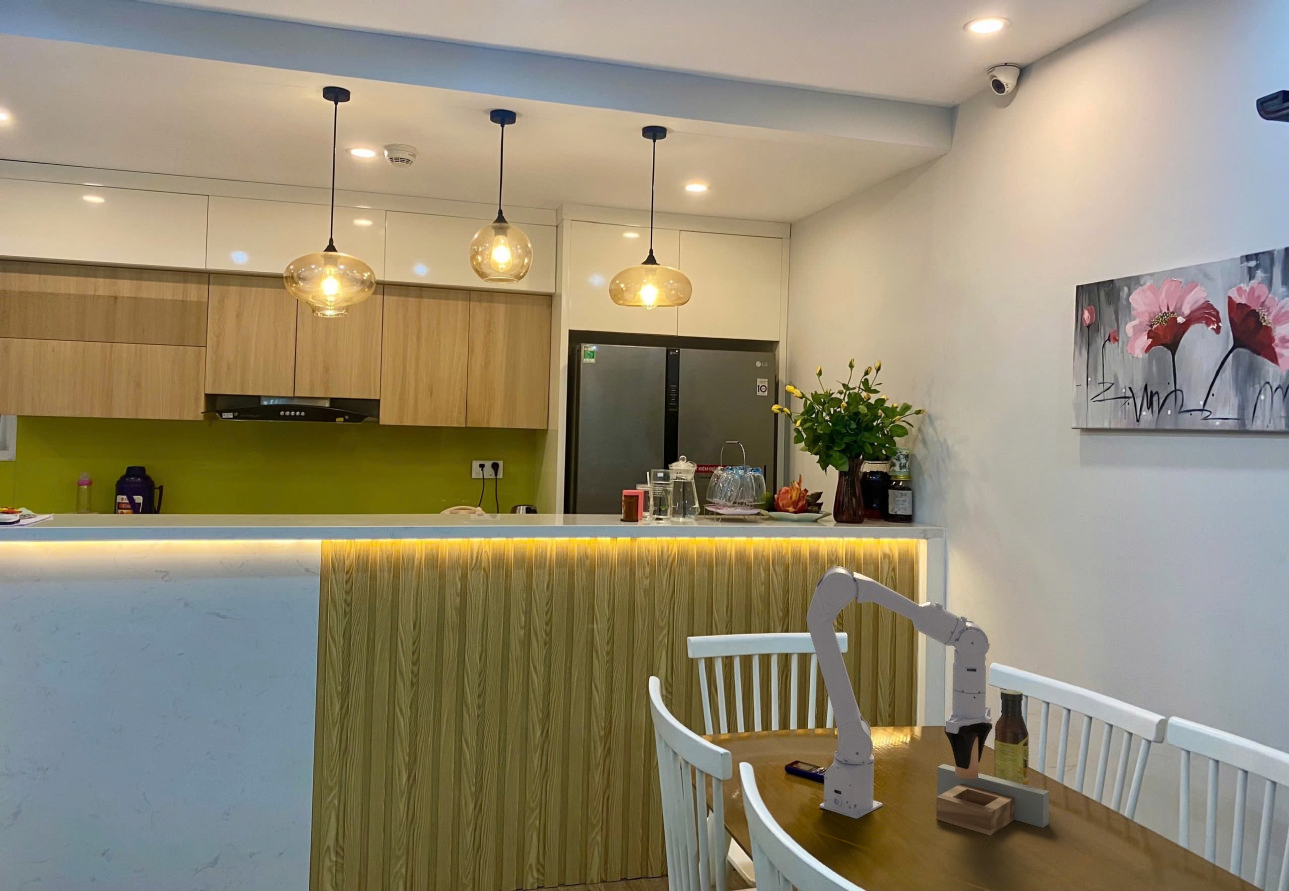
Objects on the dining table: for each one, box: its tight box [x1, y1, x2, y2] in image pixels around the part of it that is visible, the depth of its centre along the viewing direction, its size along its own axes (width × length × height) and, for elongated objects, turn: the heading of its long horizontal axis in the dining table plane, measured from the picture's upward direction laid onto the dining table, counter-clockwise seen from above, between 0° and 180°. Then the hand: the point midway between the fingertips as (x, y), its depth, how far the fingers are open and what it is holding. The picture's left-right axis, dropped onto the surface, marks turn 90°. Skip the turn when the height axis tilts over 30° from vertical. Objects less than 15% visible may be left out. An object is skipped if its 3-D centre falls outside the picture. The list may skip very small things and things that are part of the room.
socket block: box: [935, 784, 1015, 836], centre depth 171 cm, size 10×10×4 cm
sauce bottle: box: [993, 689, 1030, 786], centre depth 184 cm, size 7×6×20 cm
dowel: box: [954, 737, 979, 779], centre depth 173 cm, size 4×4×7 cm
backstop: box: [936, 763, 1050, 829], centre depth 175 cm, size 2×20×6 cm, turn 46°
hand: (967, 764), depth 173 cm, fingers closed on dowel, 4 cm apart
